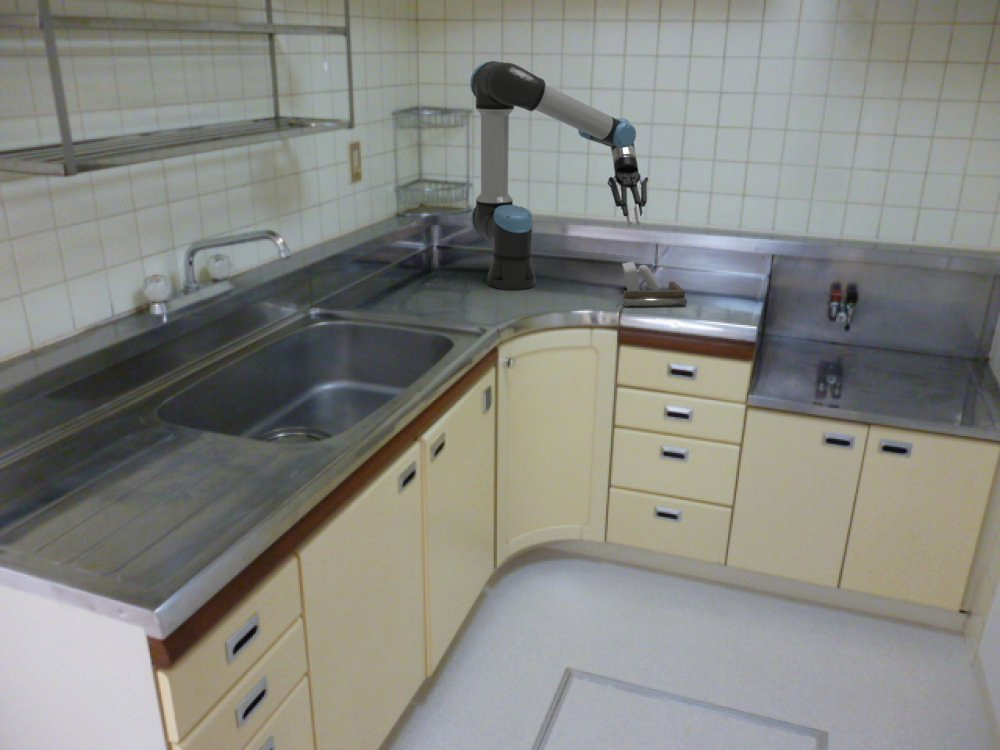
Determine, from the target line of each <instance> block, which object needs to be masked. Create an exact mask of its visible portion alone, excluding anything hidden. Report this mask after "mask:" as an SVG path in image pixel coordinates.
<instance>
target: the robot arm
mask: <svg viewBox="0 0 1000 750" xmlns="http://www.w3.org/2000/svg"><path fill="white" fill-rule="evenodd" d="M469 84H470V89H471V92H472V95H473V96H474V97H475V110H476V111H477V112H478V113H479V114H480V193H479V195H478V196H477V197H476V199H475V207H474V208H473V209H472V211H471V215H470V221H471V226H472V229H473V231H475V233H476V234H477V235H478V236H480V237H481V238H482V239H484V240H486V241H489V242H491V243H492V244H493V249H492V250H493V257H492V260H491V264H490V267H489V270H488V274H487V276H486V278H487V279H486V283H487V285H489V286H490V287H492V288H494V289H495V288H496V289H500V290H506V291H507V290H511V291H512V290H513V291H516V290H518V291H519V290H526V289H527V290H528V289H531V288H534V286H535V285H536V274H535V270H534V267H533V264H532V257H531V255H532V237H533V224H534V222H533V215H532V212H531V211H530V210H529V209H528V208H526V207H523V206H518V205H515V204H514V202H513V199H514V198H513V197H511V195H510V194H509V143H510V142H509V139H510V137H509V136H510V135H509V133H510V131H509V130H510V128H509V127H510V121H509V120H510V114H511V113H512V112H513V111H514V110H515V107H517V108H521V109H523V110H527V111H529V112H533V111H536V112H539V113H542V114H544V115H546V116H548V117H551V118H552V119H554V120H556V121H559V122H561V123H564V124H566V125H568V126H570V127H572V128H574V129H576V130H578V135H579V136H580V137H581V138H584V139H586V140H589V141H592V142H595V143H598V144H601V145H604V146H607V147H610V150H611V155H612V156H611V157H612V162H613V171H614V175H613V177H612V176H610V177H609V178H608V180H607V185H608V186H609V188H610V191H611V193H612V197H613V200H614V203H615V206H616V207H617V208H618V207H620V209H621V210H622V215H623V217H625V218H626V223H627V227H631V226H632V223H633V219H632V212H631V204H630V203H628V188H629V189H630V192H631V193H632V198H633V201H634V205H635V206H634V208H633V211H634V217H635V218H634V219H635V224H636V227H640V225H641V223H642V219H641V217H642V215H643V208H644V207H645V206H646V204H647V201H648V200H647V199H648V197H647V196H648V194H647V193H648V192H647V187H648V186H647V183H648V182H649V177H647V176H646V177H642V176H641V174H640V173H639V166H638V160H637V153H636V148H635V140H636V138H637V131H636V127H634V126H633V124H632V123H631V122H630V121H629V120H628V119H626V118H623V117H622V118H618V117H617V118H615V117H613V116H611V115H609V114H607V113H605V112H603V111H601V110H599V109H598V108H597V109H596V108H595V107H593V106H591V105H588V104H587V103H584V102H582V101H580V100H578V99H575V98H574V97H571V96H570V95H568V94H565V93H564V92H562V91H559V90H557V89H555V88H554V87H551V86H549V85H547V83H546V81H545V79H543V78H541V77H539V76H537V75H536V74H534V73H532V72H530V71H528V70H527V69H524V68H523V67H522V66H519V65H517V64H515V63H511V62H503V61H496V60H491V61H490V60H489V61H486V62H482V63H480V64H479V65H477V67H476V68H474V70H473V72H472V75H471V77H470V83H469ZM629 122H630V123H629ZM638 182H639V184H640V192H639V189H638ZM617 184H618V185H619V186H620V191H621V195H620V192H619V189H618V185H617Z"/></svg>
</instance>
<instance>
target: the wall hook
mask: <svg viewBox="0 0 1000 750" xmlns="http://www.w3.org/2000/svg"><path fill="white" fill-rule="evenodd" d="M621 266H622V273H623V278H624V283H625V284H624V285H625V288H627V289H626V291H639V290H641V289H640V284H639V276H638V275H639V274H640V275H641V277H642V279H643V280H644V282H645V284H646V285H647V286H648V288H649V289H650V290H661V287H662V286H661V283H659V281H658V280H657V278H656V276H655V275H654V274H653V273H652V271H651V269H650V268H649V267H648V266H647V265H646V264H641V265H640V266H639V267H638V269H637V267H636V264H635V261H629V262H622V264H621Z"/></svg>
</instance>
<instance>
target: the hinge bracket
mask: <svg viewBox="0 0 1000 750" xmlns="http://www.w3.org/2000/svg"><path fill="white" fill-rule="evenodd" d="M685 295H686V290H684V289H683V288H682V287H680V285H678V284H677V283H676V281H669V282H668V289H666V290H665V289H663V290H662V289H659V290H651V289H650V290H645V289H644V290H643V289H642V290H641V289H640V290H639V291H627V290H623V297H622V304H623V303H624V304H625V305H626V306H647V307H686V306H687V302H688V300H687V297H685ZM625 305H624V306H625Z"/></svg>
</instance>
